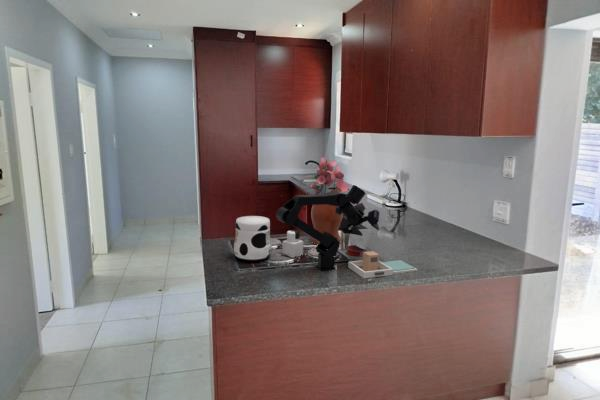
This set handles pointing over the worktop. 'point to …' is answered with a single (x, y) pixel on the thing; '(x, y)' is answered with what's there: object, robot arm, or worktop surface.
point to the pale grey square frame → (368, 274)
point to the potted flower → (325, 213)
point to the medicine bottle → (293, 243)
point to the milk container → (252, 238)
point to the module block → (370, 261)
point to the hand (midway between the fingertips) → (370, 232)
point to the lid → (400, 266)
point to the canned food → (356, 249)
